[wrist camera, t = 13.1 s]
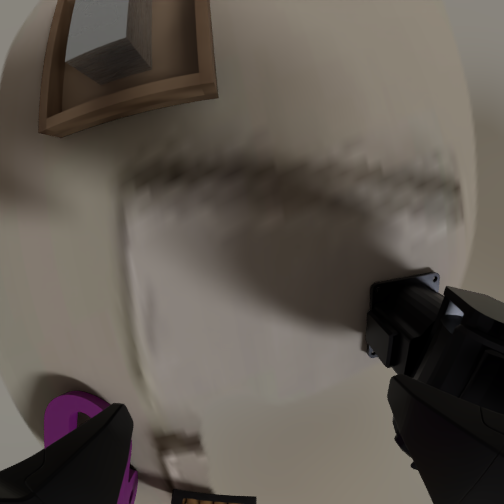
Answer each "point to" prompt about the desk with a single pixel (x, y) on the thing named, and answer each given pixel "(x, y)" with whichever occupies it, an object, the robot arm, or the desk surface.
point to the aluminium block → (110, 38)
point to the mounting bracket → (65, 420)
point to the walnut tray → (135, 86)
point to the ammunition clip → (208, 498)
